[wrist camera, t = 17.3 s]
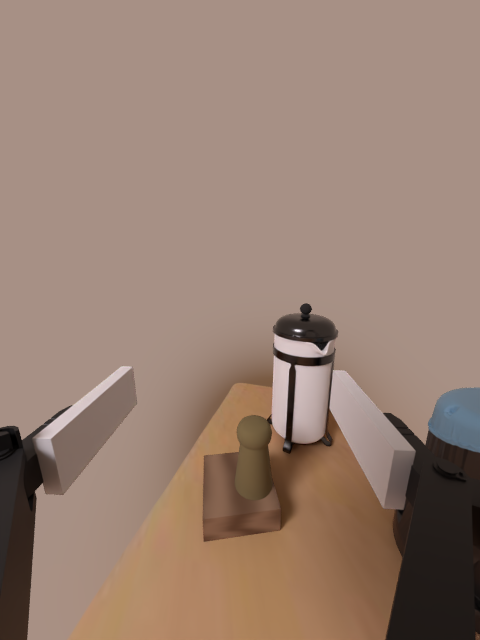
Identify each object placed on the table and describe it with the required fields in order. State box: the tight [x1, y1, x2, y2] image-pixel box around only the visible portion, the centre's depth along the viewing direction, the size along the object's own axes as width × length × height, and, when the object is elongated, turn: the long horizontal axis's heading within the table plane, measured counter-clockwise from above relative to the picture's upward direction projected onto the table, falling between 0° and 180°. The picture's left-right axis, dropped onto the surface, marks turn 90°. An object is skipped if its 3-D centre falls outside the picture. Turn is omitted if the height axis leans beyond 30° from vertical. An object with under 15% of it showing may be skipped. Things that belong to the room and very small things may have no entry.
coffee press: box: [267, 304, 338, 454], centre depth 52 cm, size 17×16×30 cm
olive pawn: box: [235, 415, 273, 500], centre depth 36 cm, size 6×6×11 cm
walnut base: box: [203, 452, 281, 541], centre depth 39 cm, size 11×11×4 cm
